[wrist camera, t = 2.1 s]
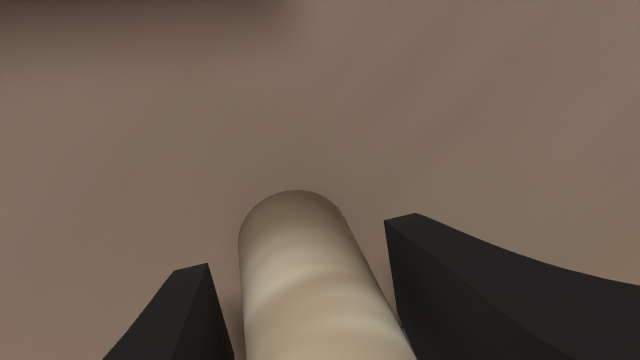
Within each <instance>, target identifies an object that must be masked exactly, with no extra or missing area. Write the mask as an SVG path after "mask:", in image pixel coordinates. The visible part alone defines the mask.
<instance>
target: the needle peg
mask: <svg viewBox="0 0 640 360" xmlns="http://www.w3.org/2000/svg"><path fill="white" fill-rule="evenodd" d="M238 252H239V266H240V279H241V293H242V307H243V321H244V335H245V349H246V360H417V359H416V357H415V355H414V353H413V351H412V349H411V347H410V346H409V344H408V342H407V340H406V338H405V336H404V334H403V332H402V330H401V328H400V326H399V324H398V322H397V320H396V318H395V316H394V314H393V312H392V310H391V308H390V306H389V304H388V302H387V301H386V299H385V297H384V295H383V293H382V291H381V289H380V287H379V285H378V283H377V281H376V279H375V277H374V275H373V273H372V271H371V269H370V267H369V265H368V263H367V261H366V259H365V258H364V256H363V254H362V252H361V250H360V248H359V246H358V244H357V242H356V240H355V238H354V236H353V234H352V232H351V230H350V228H349V226H348V224H347V222H346V220H345V218H344V217H343V215H342V213H341V212H340V210H339V209H338V208H337V207H336V206H335V205H334V204H333V203H332V202H331V201H329V200H328V199H327V198H325V197H323V196H321V195H319V194H316V193H313V192H309V191H301V190H292V191H285V192H281V193H277V194H275V195H272V196H270V197H268V198H266V199H265V200H263V201H262V202H260V203H259V204H258V205H256V206H255V207H254V208H253V209H252V210H251V212H250V213H249V214H248V215H247V217H246V219H245V220H244V222H243V224H242V226H241V229H240V233H239V238H238Z"/></svg>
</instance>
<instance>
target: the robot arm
mask: <svg viewBox="0 0 640 360" xmlns="http://www.w3.org/2000/svg"><path fill="white" fill-rule="evenodd" d="M384 226H385V233H386V239H387V246H388V253H389V259H390V266H391V272H392V279H393V286H394V292H395V299H396V305H397V312H398V315H399V317H400V320H401V322H402V324H403V327H404V329H405V332H406V334H407V337H408V339H409V341H410V344H411V346H412V348H413V351H414V353H415V355H416V357H417V359H418V360H640V286H639V285H634V284H628V283H623V282H618V281H613V280H608V279H604V278H600V277H596V276H592V275H588V274H584V273H580V272H576V271H572V270H568V269H564V268H560V267H557V266H554V265H550V264H547V263H544V262H540V261H538V260H535V259H532V258H529V257H526V256H523V255H520V254H517V253H514V252H511V251H508V250H506V249H503V248H500V247H498V246H495V245H492V244H490V243H487V242H485V241H482V240H480V239H478V238H475V237H473V236H470V235H468V234H466V233H463V232H461V231H459V230H456V229H454V228H452V227H449V226H447V225H445V224H442V223H440V222H438V221H435V220H433V219H431V218H428V217H426V216H423V215H420V214H417V213H413V214H409V215H405V216H401V217H396V218H392V219H388V220H384ZM102 360H235V358H234V352H233V349H232V345H231V342H230V338H229V335H228V331H227V328H226V325H225V321H224V318H223V314H222V311H221V307H220V304H219V300H218V297H217V293H216V290H215V286H214V283H213V280H212V276H211V273H210V269H209V266H208V263H204V264H200V265H196V266H192V267H188V268H184V269H179V270H175V271H174V272H173V273H172V274H171V275H170V276H169V277H168V279H167V280H166V281H165V283H164V284H163V285H162V287H161V288H160V289H159V291H158V292H157V293H156V295H155V296H154V297H153V299H152V300H151V301H150V303H149V304H148V305H147V306H146V308H145V309H144V310H143V312H142V313H141V314H140V315H139V317H138V318H137V319H136V320H135V322H134V323H133V324H132V326H131V327H130V328H129V329H128V331H127V332H126V333H125V334H124V335H123V337H122V338H121V339H120V340H119V341H118V342H117V343H116V345H115V346H114V347H113V348H112V349H111V350H110V351H109V352H108V354H107V355H106V356H105V357H104V358H103V359H102Z"/></svg>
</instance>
